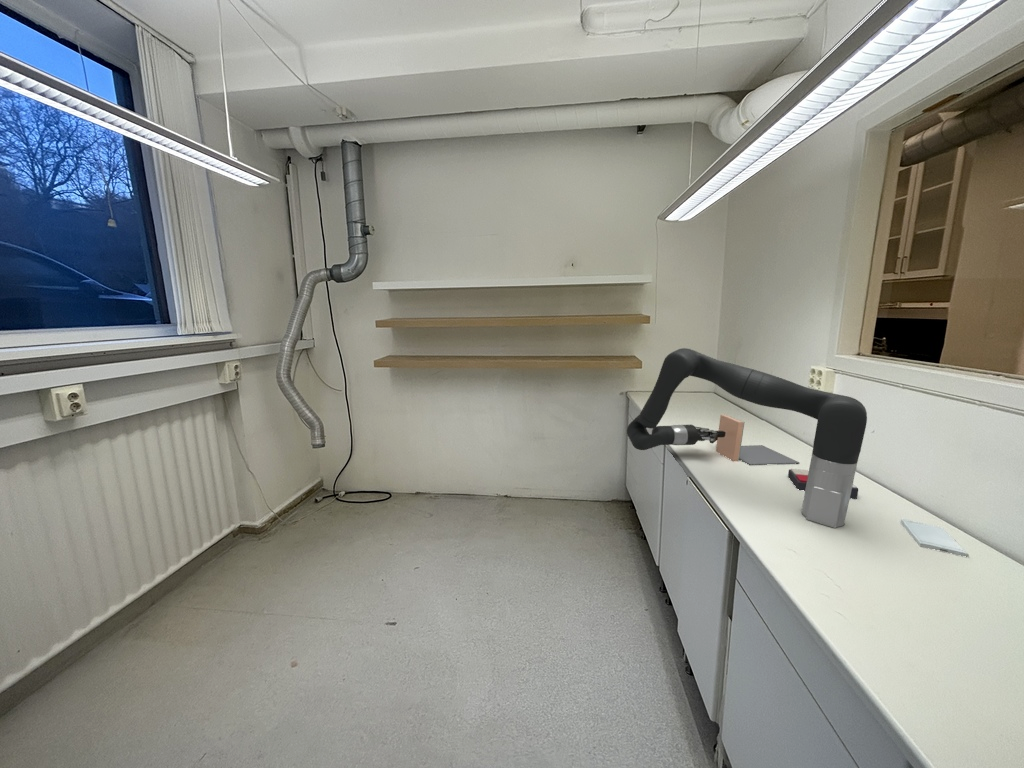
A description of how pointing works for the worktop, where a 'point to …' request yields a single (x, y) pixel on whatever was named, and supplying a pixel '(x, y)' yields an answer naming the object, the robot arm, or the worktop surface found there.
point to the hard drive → (933, 537)
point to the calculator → (800, 481)
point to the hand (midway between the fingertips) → (723, 433)
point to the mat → (763, 456)
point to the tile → (730, 437)
